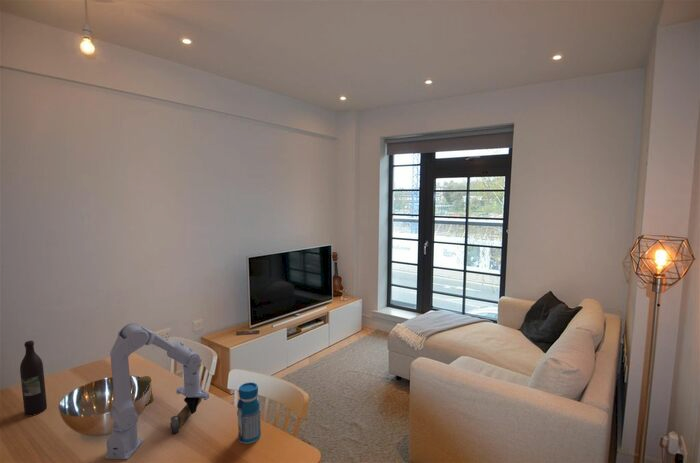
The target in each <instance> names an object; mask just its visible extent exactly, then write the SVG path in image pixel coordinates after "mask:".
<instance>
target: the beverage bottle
mask: <svg viewBox="0 0 700 463" xmlns="http://www.w3.org/2000/svg"><path fill="white" fill-rule="evenodd" d="M258 394H259V386H258V384H257V383H255V382H245V383H242V384H241V385H240V386H239V388H238V396H239V399H238V401H237V406H236V407H237V410H236V411H237V412H236V415H237V425H238V434H237V435H238V436H237V438H238V441H239V442H240V443H242V444H245V445H249V444H253V443H255V442H257V441H259V439H260V438H261V436H262V431H261V412H262V410H261V400H260V398H259V397H258Z"/></svg>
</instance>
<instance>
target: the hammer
mask: <svg viewBox="0 0 700 463" xmlns="http://www.w3.org/2000/svg"><path fill="white" fill-rule="evenodd" d="M202 399H203V398H200V399H199V402H198V405H199V404H200V403H201V402H202ZM169 425H170V429H171V435H174V436H175V435H177V434H179V432H180V431H179V430H180V429H178V416H177V415H174V416H172V417H171V418H170V424H169Z"/></svg>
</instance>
